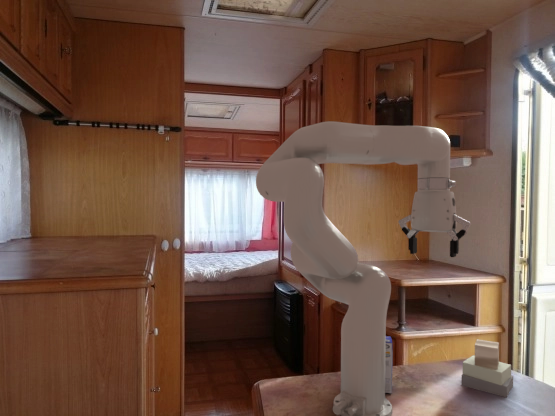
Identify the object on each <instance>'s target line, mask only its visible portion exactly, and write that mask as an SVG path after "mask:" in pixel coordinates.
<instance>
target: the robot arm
mask: <svg viewBox="0 0 555 416" xmlns="http://www.w3.org/2000/svg"><path fill="white" fill-rule="evenodd" d="M391 163H392V164H393V163H395V164H396V165H397V164H398V165H401V166H410V165H417V191H415V192H414V195H413V200H412V206H411V214H409V215H407V216H405V217H403V218H402V219H399V220H398V224H399V226H400V228H401V231H402V232H403V233H404V235H405V236H406V237H407V238H408V251H409V254H410V255H414V254H417V253H418V238H417V237H416V235H417V234H419V232H429V233H447V234H448V236H449V237H450V238H451V240H450V241H449V257H450V258H455V257H457V254H459V251H460V250H459V249H460V247H459V246H460V243H459V241H460V240H461V239H462V238H463V237H465V235H466V234H467V232H468V231H469V229H470V227H471V226H472V222H471V221H468V220H467V219H465V218H463V217H462V216H459V215H457V207H456V206H457V205H456V197H455V193H454V191H451V189H452V188H453V187H457V181H456V180H452V179H451V141H450V138H449V136H448V135H447V133H446V132H445V131H444V130H443V129H441V128H437V127H433V126H432V127H431V126H421V125H371V124H362V123H361V124H360V123H351V122H341V121H322V122H318V123H313V124H311V125H307V126H303V127H300V128H298V129H297V130H295V131H294V132H293V133H292V134H290V136H289V137H287V139H286V140H285V141H284V142H283V143H281V145H280V146H279V147H278V148H277V149H276V150H275V151H274V152H273V153H272V154H271V155H270V156H269V157H268V158H267V159H266V160H265V161H264V163H263V164H261V166H260V167H259V169H258V171H257V174H256V176H255V177H256V178H255V187H256V189H257V191H258V194H259V195H260V196H261V197H262V198H264V199H265V200H267V201H270V202H276V203H281V202H283V225H284V231H285V233H286V235H287V238H288V239H289V240H290V241H291V242H292V243H291V246H290V259H291V262H292V264H293V266H294V267H295V269H296V270H297V272H299V273H300V274H301V276H303V277H304V278H305V279H306V280H307V281H308V282H309V283H310V284H311V285H312V286H313V287H314V288H316V290H318V291H319V292H320V293H321V294H322V295H323V296H325V297H327V298H329V299H330V300H334V301H336V302H339V303H342V304H345V305H346V306H347V305H348V308H347V311H346V313H345V315H344V317H343V318H342V322H341V329H340V338H341V339H340V340H341V341H340V393H338V394H337V395H336V396H335V397H334V399H333V406H332V412H333V413H334V415H336V416H392V414H393V405H392V402H390V400H389V399H388V398H386V393H385V351H386V336H387V335H386V331H387V328H386V327H387V315H388V314H387V313H388V309H389V303H390V299H391V293H392V283H391V279H390V277H389V276H388V274H387V273H386V272H385V271H384V270H382V268H380V267H377V266H375V265H372V264H366V263H361V262H359V255H358V252H357V251H356V249H355V247H354V245H353V244H352V243H351V242H350V241H349V239H347V237H346V236H344V234H343V233H342V232H341V231H340V230H339V229H338V228H337V226H335V225H334V224H333V223H332V221H331V220H330V218H328V217H327V215H326V214H325V213H326V212H325V211H324V208H323V195H324V188H325V187H324V186H325V177H324V173H323V170H322V168H321V165H322V164H342V165H343V164H348V165H349V164H350V165H351V164H352V165H368V166H369V165H383V164H384V165H385V164H391ZM409 222H410V227H411V229H410V228H409V227H408V225H407V223H409ZM458 224H460V225H461V229H460V230H459V231H456V230H457V226H458Z"/></svg>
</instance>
